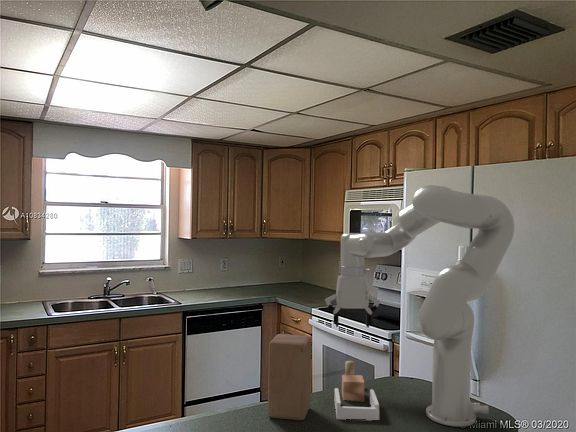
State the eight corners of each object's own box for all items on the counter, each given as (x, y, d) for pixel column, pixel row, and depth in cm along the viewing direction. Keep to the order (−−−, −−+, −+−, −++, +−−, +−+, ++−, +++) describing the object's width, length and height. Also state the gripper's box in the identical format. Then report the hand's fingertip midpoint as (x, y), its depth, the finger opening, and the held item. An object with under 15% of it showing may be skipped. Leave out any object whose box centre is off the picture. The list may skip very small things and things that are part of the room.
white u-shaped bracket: (373, 403, 134) (373, 389, 134) (379, 420, 123) (379, 405, 123) (334, 402, 135) (334, 388, 135) (336, 419, 123) (336, 403, 123)
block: (358, 382, 151) (358, 361, 151) (364, 401, 136) (364, 377, 136) (339, 382, 152) (340, 360, 152) (343, 400, 136) (343, 376, 136)
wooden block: (304, 422, 121) (306, 344, 121) (266, 418, 123) (268, 341, 123) (310, 407, 131) (311, 335, 131) (275, 403, 133) (276, 332, 133)
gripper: (378, 271, 153) (378, 324, 153) (324, 270, 154) (324, 323, 154) (381, 273, 146) (381, 329, 145) (325, 272, 146) (325, 328, 146)
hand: (352, 326), depth 149 cm, fingers open, 9 cm apart
